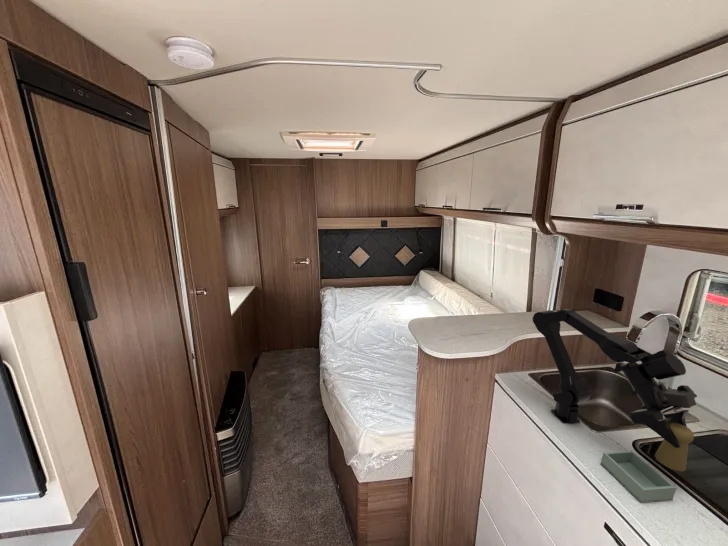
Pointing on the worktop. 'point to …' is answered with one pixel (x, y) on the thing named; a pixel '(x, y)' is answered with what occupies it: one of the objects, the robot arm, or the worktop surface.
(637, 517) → the worktop surface
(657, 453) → the cork
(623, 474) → the tray
